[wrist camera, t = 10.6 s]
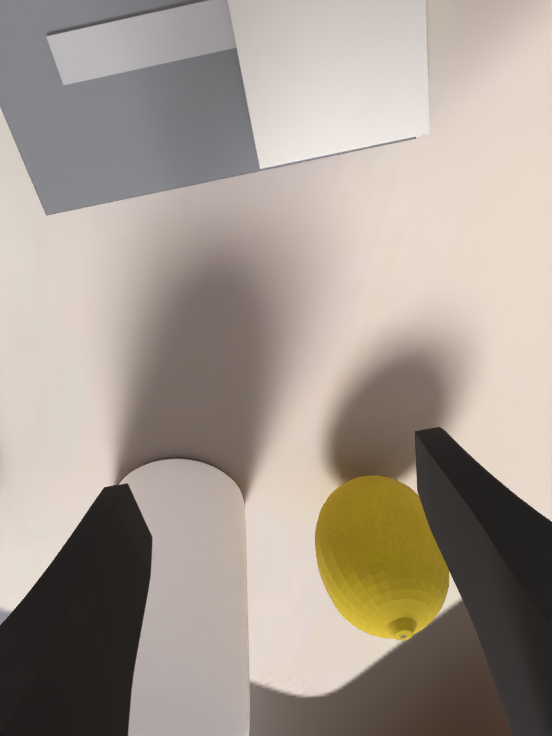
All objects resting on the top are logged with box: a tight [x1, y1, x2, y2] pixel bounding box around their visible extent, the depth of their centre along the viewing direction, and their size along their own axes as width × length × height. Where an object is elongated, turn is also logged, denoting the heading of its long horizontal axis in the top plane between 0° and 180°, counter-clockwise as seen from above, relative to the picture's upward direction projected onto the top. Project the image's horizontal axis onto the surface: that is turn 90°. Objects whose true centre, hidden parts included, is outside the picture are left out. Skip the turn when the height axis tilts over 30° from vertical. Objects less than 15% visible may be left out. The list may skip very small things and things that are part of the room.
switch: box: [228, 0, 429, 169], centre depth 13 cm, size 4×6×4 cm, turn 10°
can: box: [119, 458, 250, 736], centre depth 21 cm, size 6×6×12 cm
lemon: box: [315, 476, 449, 641], centre depth 23 cm, size 6×6×8 cm
